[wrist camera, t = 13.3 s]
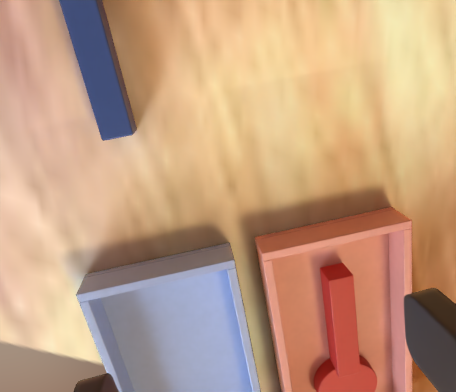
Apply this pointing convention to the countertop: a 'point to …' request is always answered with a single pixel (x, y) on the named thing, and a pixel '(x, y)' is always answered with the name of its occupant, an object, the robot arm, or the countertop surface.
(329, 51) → the countertop surface
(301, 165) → the countertop surface
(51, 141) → the countertop surface
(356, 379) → the red spoon
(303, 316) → the red tray
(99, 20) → the blue spoon
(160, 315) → the blue tray
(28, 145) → the countertop surface
